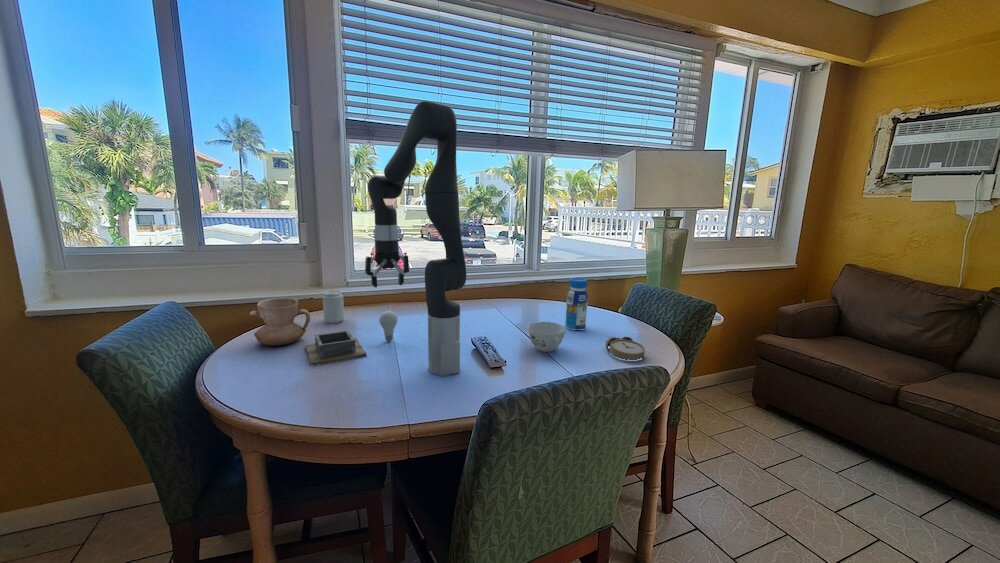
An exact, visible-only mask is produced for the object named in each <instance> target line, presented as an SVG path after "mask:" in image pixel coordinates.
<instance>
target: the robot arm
mask: <svg viewBox="0 0 1000 563" xmlns="http://www.w3.org/2000/svg"><path fill="white" fill-rule="evenodd" d="M457 127H458V124H457V117H456V114H455V111H454V110H453V109H452V107H451V106H447V105H445V104H440V103H435V102H432V101H428V100H427V101H420V102H419V103H418V104H417V105H416V106H415V107H414V109H413V111H412V113H411V114H410V117H409V119H408V122H407V124H406V126H405V128H404V132H403V134H402V136H401V139H400V141H399V144H398V146H397V148H396V150H395V152H394V153H393V155H392V156H391V157H390V159H389V161H388V162H387V164H386V165H385V166H384V169H383V175H384V176H380V175H378V176H377V175H376V176H372V177H370V179H369V180H368V182H367V192H368V195H369V198H370V202H371V205H372V208H373V209H372V210H373V211H374V213H373V214H374V251H375V252H374V253H375V255H374V256H368V255H366V256H365V260H364V261H365V262H364V264H365V266H364V268H365V269H364V270H365V271H364V273H365V274H366V275H367V276H370V277H371V279H370V280H371V285H372V286H373V288H377V287H378V277H377V275H378V274H379V272H381V270H386V269H390V270H392V269H395V270H396V271H397V272H398V275H397V277H398V280H397V281H398V285H399V286H403V284H404V283H405V274H406V273H410V262H409V255H407V254H401V255H400V254H399V230H398V229H399V228H398V220H397V219H398V218H397V217H398V214H397V209H396V208H395V207H393V206H389V205H387V204H386V202H385V200H395V199H398V197H400V196H401V194H402V192H403V188H404V185H405V182H406V180H407V179H408V177H409V176H410V174H411V173H412V172H413V170H414V169H415V167H416V164H417V151H416V148H417V145H418V144H419V143H420V142H421V141H422V140H423V139H429V140H433V141H434V140H435V141H436V150H437V151H436V152H437V153H436V160H435V164H434V166H433V169H432V171H431V172H430V174H429V176H428V178H427V180H426V184H425V187H424V196H425V197H424V199H425V210H426V213H427V217H428V218H429V220H430V222H431V223H432V225H433V226H434V228H435V230H436V231H437V232H438V234H439V236H440V237H441V240H442V242H443V245H444V249H445V257H446V258H441V259H440V258H439V259H438V258H437V259H432V260H429V261H428V262H427V263H426V265H425V268H424V288H425V302H426V307H427V346H428V347H427V348H428V349H427V354H428V356H427V358H428V372H429V373H431V374H433V375H435V376H436V375H437V376H439V377H445V376H450V375H454V374H459V373H460V372H461V341H460V339H461V338H460V337H461V333H460V332H461V307H460V304H459V303H458V302H456V301H453V300H449V299H447V297H446V292H450V291H456V290H460V289H461V290H462V288H463V287H464V286H465V284H466V282H467V266H466V258H465V254H464V247H463V241H462V232H461V219H460V199H459V198H460V197H459V196H460V195H459V188H458V174H457V173H458V172H457V171H458V169H457V143H458V142H457V141H458V140H457V138H458V134H457V132H458V131H457V130H458V128H457ZM384 199H385V200H384ZM374 261H375V263H376V265H375V266H374V267H373V269H372V265H371V264H373V263H374ZM400 261H402V262H403V263H402V264H403V265H402V266H403V268H401V266H400V264H399V262H400ZM371 270H372V271H371Z"/></svg>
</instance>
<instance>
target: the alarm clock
mask: <svg viewBox="0 0 1000 563" xmlns="http://www.w3.org/2000/svg"><path fill="white" fill-rule="evenodd" d="M608 346H610V349H609V350H608ZM605 349H607V350H608V353H609V352H610V353H611V354H612V355H613V356H615V357H618V358H621V359H625V360H628V359H629V360H637V359H640V358H643V359H646V358H647V357H646V356H645V352H646V348H645V347H644V345H643V344H641V343H639V342H637V341H635V340H634V339H632V338H631V337H629V336H624V337H622V338H621V337H612V336H611V337H608V339H606V341H605ZM610 353H609V354H610Z"/></svg>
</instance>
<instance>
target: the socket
mask: <svg viewBox="0 0 1000 563" xmlns="http://www.w3.org/2000/svg"><path fill="white" fill-rule="evenodd" d="M305 351H306V353H307V356H308V359H309V360H308V361H309V363H310V366H311V365H315V366H318V365H317V364H320V365H325V364H324V363H326V364H331V363H330V362H332V363H336V361H338V362H344V361H348V360H349V361H350V360H354V359H360V358H364V357H367V352H366V350H365V348H363V346H362V345H361V343H360V342H359V340H358V339H357V337H353V335H352V333H351V332H350V330H341V331H334V332H328V333H321V334H320V333H319V334H314V343H311V344H306V345H305Z"/></svg>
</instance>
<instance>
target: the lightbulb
mask: <svg viewBox="0 0 1000 563" xmlns="http://www.w3.org/2000/svg"><path fill="white" fill-rule="evenodd" d="M378 320H379V324H380V326H381V328H382V329H383V333H384V334H383V335H384V338H385V341H387V342H391V341H393V339H394V333H395V332H394V331H395V327H396V326H397V323H398V316H397V314H396V313H395V311H391V310H385V311H384V312H382V313H381V314H380V316H379V318H378Z"/></svg>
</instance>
